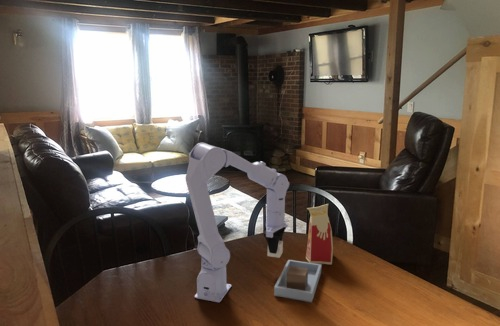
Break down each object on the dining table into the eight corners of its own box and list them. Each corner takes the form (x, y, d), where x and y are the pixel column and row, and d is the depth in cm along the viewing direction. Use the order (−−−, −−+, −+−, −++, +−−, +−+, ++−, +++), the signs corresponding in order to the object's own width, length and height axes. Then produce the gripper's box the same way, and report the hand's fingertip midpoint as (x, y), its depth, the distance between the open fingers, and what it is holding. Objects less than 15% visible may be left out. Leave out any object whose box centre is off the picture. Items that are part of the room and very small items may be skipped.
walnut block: (304, 291, 114) (305, 275, 113) (286, 288, 116) (286, 272, 115) (307, 283, 118) (308, 268, 117) (290, 280, 120) (290, 265, 119)
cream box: (279, 257, 122) (279, 246, 122) (267, 255, 124) (267, 244, 123) (282, 252, 126) (282, 241, 125) (270, 250, 127) (270, 239, 127)
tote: (311, 302, 109) (312, 293, 108) (274, 295, 112) (274, 287, 112) (321, 272, 125) (321, 264, 125) (288, 267, 129) (288, 259, 128)
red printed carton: (330, 252, 140) (332, 199, 135) (333, 264, 131) (335, 208, 126) (304, 251, 140) (306, 199, 136) (305, 263, 131) (307, 207, 127)
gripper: (282, 219, 114) (281, 261, 117) (293, 204, 127) (292, 242, 130) (259, 216, 116) (259, 258, 119) (272, 201, 129) (271, 239, 132)
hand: (275, 249), depth 125 cm, fingers closed on cream box, 4 cm apart
